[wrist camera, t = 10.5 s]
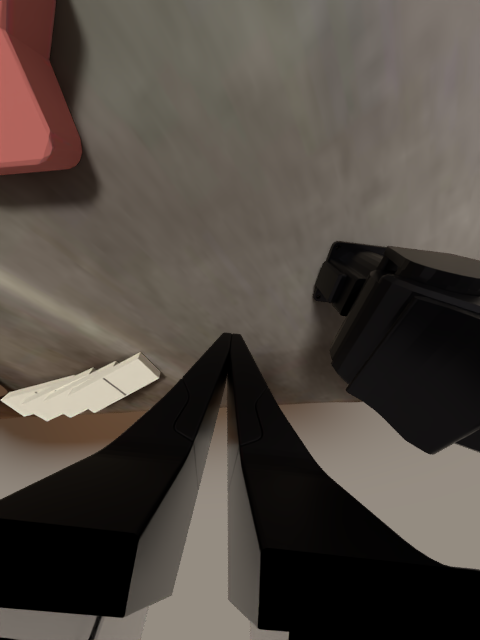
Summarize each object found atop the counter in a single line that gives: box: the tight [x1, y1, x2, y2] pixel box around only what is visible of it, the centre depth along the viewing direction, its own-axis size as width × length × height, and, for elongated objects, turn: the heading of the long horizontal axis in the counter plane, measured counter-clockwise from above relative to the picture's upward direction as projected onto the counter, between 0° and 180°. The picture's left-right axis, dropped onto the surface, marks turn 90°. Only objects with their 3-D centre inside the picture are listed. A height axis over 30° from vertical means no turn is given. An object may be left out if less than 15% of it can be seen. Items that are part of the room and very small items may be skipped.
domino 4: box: [1, 375, 75, 416], centre depth 33 cm, size 2×5×12 cm
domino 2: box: [44, 361, 119, 418], centre depth 30 cm, size 2×5×12 cm
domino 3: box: [20, 367, 97, 421], centre depth 31 cm, size 2×5×12 cm
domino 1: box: [67, 352, 161, 413], centre depth 29 cm, size 2×5×12 cm
